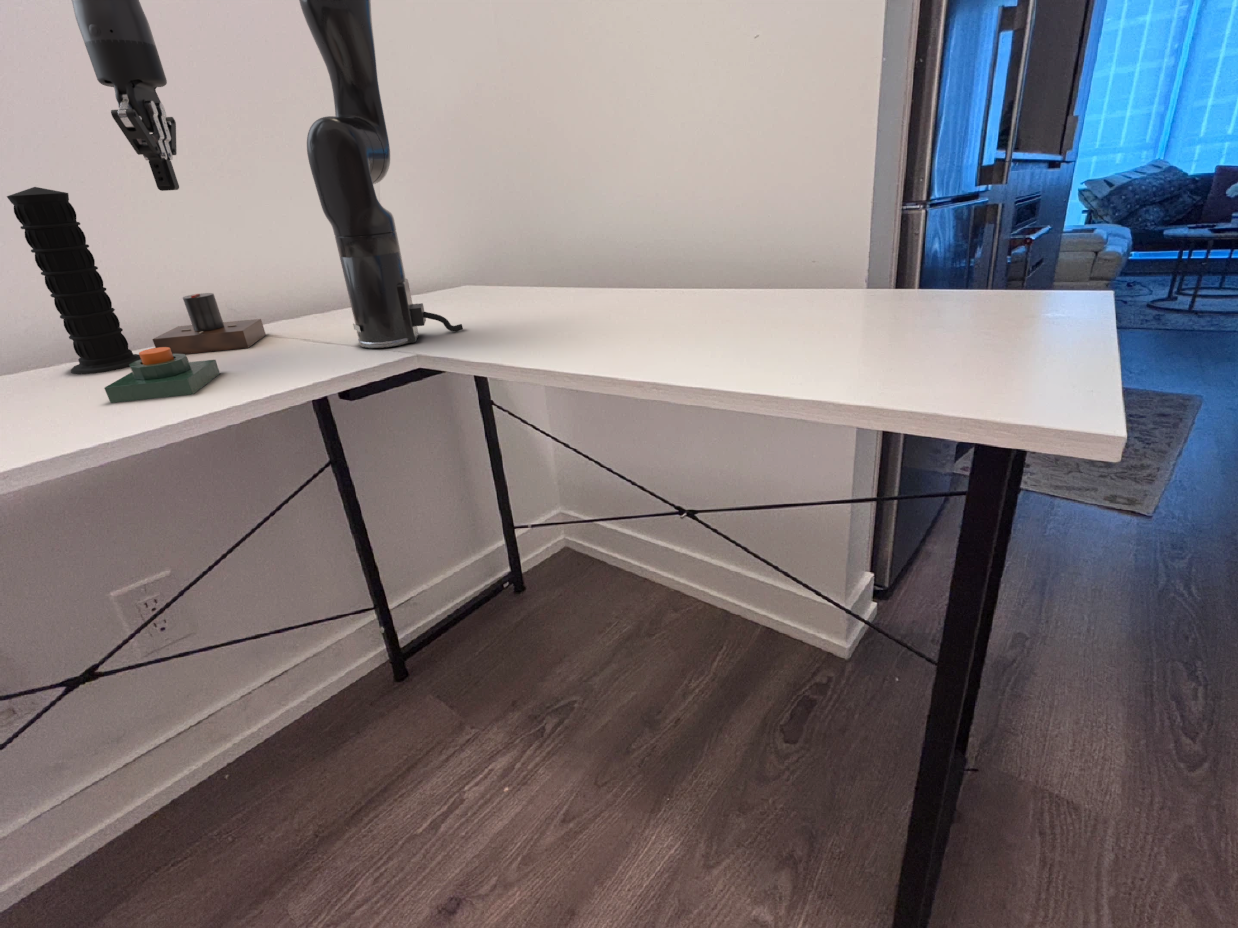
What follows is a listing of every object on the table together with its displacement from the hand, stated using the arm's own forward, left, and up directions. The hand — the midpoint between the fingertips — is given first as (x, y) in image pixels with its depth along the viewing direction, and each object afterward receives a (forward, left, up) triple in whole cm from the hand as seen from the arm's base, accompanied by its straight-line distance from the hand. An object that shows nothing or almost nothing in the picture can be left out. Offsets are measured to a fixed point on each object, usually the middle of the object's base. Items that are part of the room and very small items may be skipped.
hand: (169, 190), depth 87 cm
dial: (+7, -15, -22) cm, 27 cm away
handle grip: (+20, -7, -25) cm, 33 cm away
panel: (+7, -15, -25) cm, 30 cm away
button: (+4, +11, -21) cm, 24 cm away
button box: (+4, +11, -25) cm, 28 cm away
